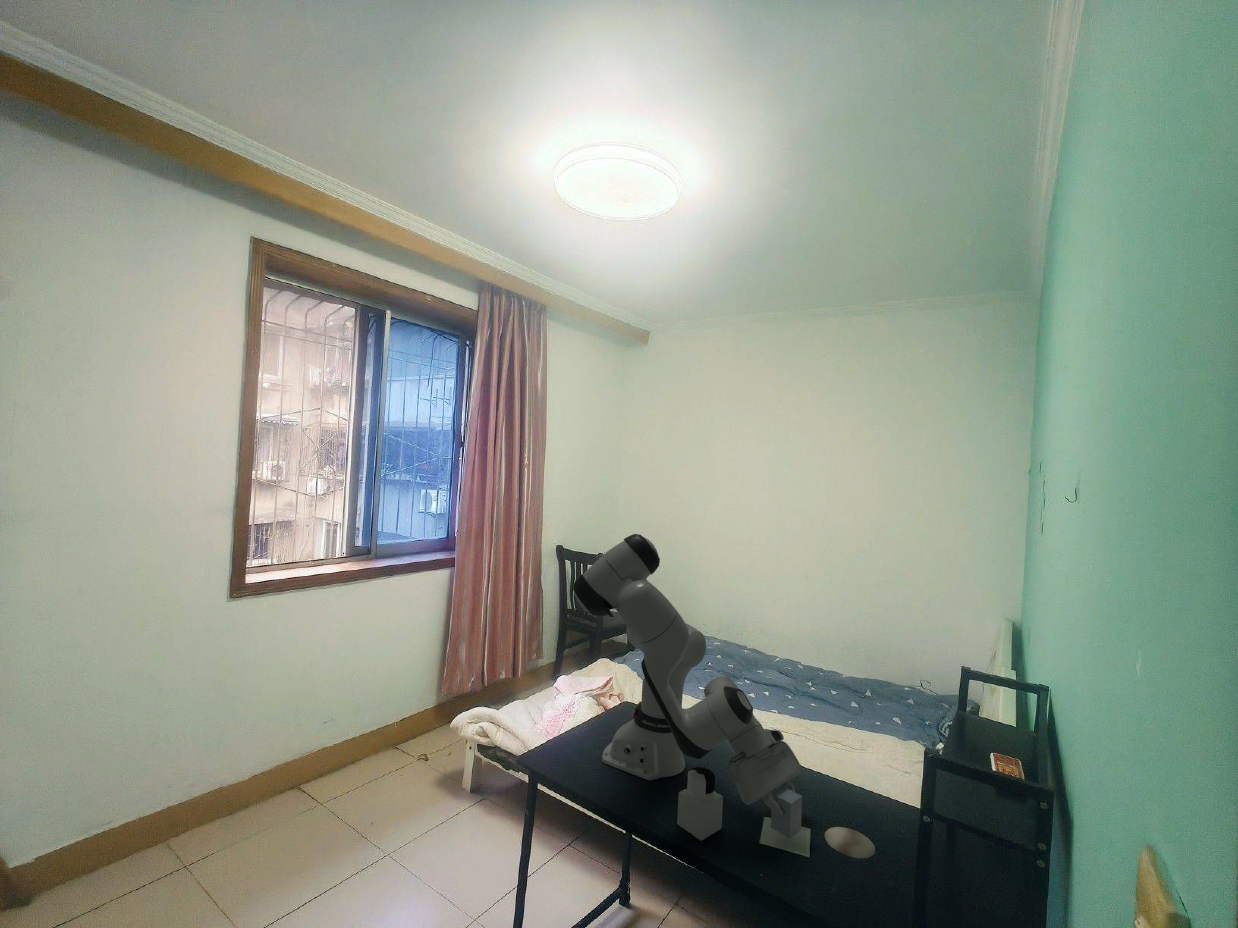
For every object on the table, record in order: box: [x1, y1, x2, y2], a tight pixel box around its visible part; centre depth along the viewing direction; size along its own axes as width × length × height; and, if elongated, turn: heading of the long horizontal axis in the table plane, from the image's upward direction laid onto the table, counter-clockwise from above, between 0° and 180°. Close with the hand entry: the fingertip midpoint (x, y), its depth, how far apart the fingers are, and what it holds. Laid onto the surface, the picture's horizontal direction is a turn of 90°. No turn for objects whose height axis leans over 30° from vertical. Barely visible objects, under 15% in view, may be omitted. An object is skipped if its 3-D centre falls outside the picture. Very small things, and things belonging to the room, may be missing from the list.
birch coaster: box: [824, 826, 876, 859], centre depth 115 cm, size 10×10×1 cm
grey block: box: [770, 786, 803, 838], centre depth 116 cm, size 5×5×7 cm
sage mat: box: [759, 816, 811, 858], centre depth 116 cm, size 10×10×1 cm
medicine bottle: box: [676, 766, 724, 841], centre depth 118 cm, size 7×7×12 cm
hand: (788, 810), depth 116 cm, fingers closed on grey block, 4 cm apart
